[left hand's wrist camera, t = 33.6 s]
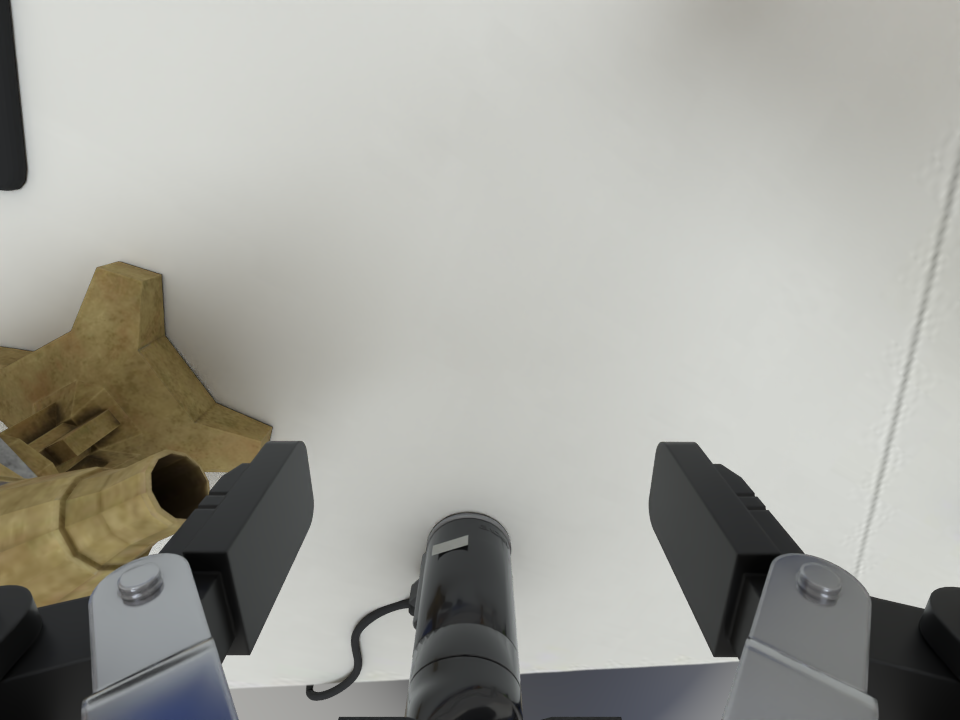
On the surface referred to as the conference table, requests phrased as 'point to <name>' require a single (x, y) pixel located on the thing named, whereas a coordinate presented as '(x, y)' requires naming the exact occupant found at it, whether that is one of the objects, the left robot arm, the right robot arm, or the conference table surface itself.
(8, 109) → the keyboard
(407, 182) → the conference table surface
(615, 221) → the conference table surface
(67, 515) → the telescope
